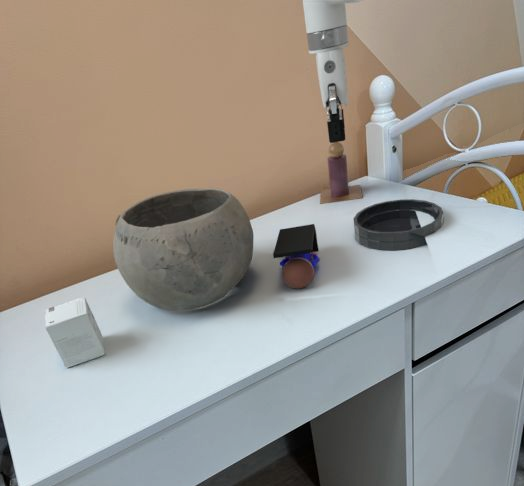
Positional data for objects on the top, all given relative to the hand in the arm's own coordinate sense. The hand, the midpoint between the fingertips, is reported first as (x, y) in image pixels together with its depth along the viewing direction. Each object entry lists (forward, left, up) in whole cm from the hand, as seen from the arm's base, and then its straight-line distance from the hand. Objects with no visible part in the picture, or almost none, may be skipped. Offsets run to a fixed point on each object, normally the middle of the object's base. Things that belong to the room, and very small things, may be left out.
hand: (337, 135), depth 103 cm
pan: (-10, +24, -13) cm, 29 cm away
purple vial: (+1, 0, -12) cm, 12 cm away
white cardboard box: (+39, +54, -13) cm, 68 cm away
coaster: (0, 0, -13) cm, 13 cm away
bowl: (+25, +37, -13) cm, 47 cm away
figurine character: (+7, +35, -13) cm, 38 cm away
